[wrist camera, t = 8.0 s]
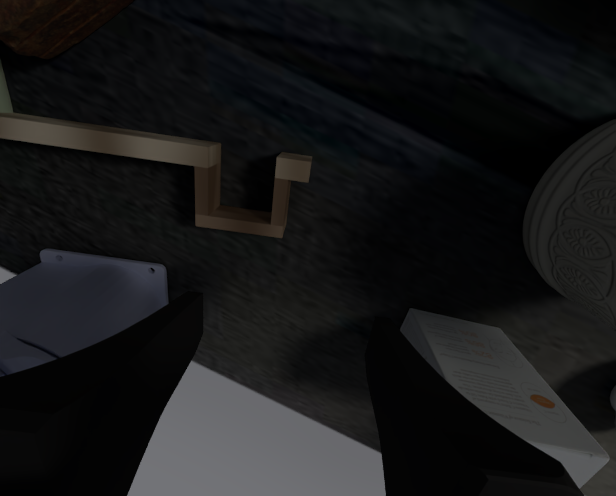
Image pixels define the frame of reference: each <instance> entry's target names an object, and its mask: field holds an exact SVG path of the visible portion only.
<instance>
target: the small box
mask: <svg viewBox="0 0 616 496" xmlns="http://www.w3.org/2000/svg"><path fill="white" fill-rule="evenodd" d="M400 331H401V332H402V334H403V335H404V336H405V337H406V338H407V340H408V341H409V342H410V343H411V344H412V345H413V347H414V348H415V349H416V350H417V351H418V352H419V353H420V354H421V356H422V357H423V358H424V359H425V360H426V361H427V362H428V363H429V364H430V365H431V366H432V367H433V368H434V369H435V370H436V371H437V372H438V373H439V374H440V375H441V376H442V377H443V378H444V379H445V380H446V381H447V382H448V383H449V384H450V385H452V386H453V387H454V388H455V389H456V390H457V391H458V392H459V393H461V394H462V395H463V396H464V397H465V398H467V399H468V400H469V401H470V402H472V403H473V404H474V405H475V406H477V407H478V408H479V409H481V410H482V411H483V412H484V413H486V414H487V415H488V416H490V417H491V418H493V419H494V420H495V421H497V422H498V423H500V424H501V425H502V426H504V427H505V428H507V429H508V430H510V431H511V432H513V433H514V434H516V435H517V436H519V437H520V438H522V439H523V440H525V441H527V442H528V443H530V444H532V445H533V446H535V447H537V448H538V449H540V450H542V451H543V452H545V453H546V454H548V455H550V456H551V457H553V458H555V459H556V460H558V461H560V462H561V463H562V465H563V466H564V467H565V469H566V470H567V472H568V473H569V475H570V476H571V478H572V479H573V481H574V482H575V483H576V485H577V486H578V488H581V487H582V486H583V485H584V484H585V483H586V482H587V481H588V480H589V479H590V478H591V477H592V476H593V475H594V474H596V473H597V472H598V471H599V470H600V469H601V468H602V467H603V466H604V465H605V464H606V463H607V462H608V461H609V459H610V458H609V455H608V454H607V453H606V452H605V450H604V449H603V448H602V447H601V446H600V445H599V443H598V442H597V441H596V440H595V439H594V438H593V436H592V435H591V434H590V433H589V432H588V431H587V429H586V428H585V427H584V426H583V425H582V424H581V422H580V421H579V420H578V419H577V418H576V417H575V415H574V414H573V413H572V412H571V411H570V410H569V408H568V407H567V406H566V405H565V404H564V403H563V401H562V400H561V399H560V398H559V397H558V395H557V394H556V393H555V392H554V391H553V390H552V388H551V387H550V386H549V385H548V384H547V383H546V382H545V380H544V379H543V378H542V377H541V376H540V375H539V373H538V372H537V371H536V370H535V369H534V368H533V366H532V365H531V364H530V363H529V362H528V361H527V360H526V358H525V357H524V356H523V355H522V354H521V352H520V351H519V350H518V349H517V348H516V347H515V346H514V344H513V343H512V342H511V341H510V340H509V339H508V337H507V336H506V335H505V334H504V333H503V331H502V330H501V329H500V328H498V327H493V326H488V325H484V324H479V323H475V322H471V321H466V320H462V319H457V318H453V317H449V316H444V315H440V314H435V313H431V312H426V311H422V310H417V309H413V308H410V309H409V311H408V313H407V315H406V318H405V320H404V322H403V324H402V326H401V328H400Z"/></svg>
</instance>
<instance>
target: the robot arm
mask: <svg viewBox="0 0 616 496" xmlns="http://www.w3.org/2000/svg"><path fill="white" fill-rule="evenodd" d="M60 256H61V257H62V258H61V257H60ZM40 258H41V263H39V264H38V265H36V266H34V267H32V268H30V269H28V270H26V271H24V272H23V273H21V274H19V275H17V276H15V277H13V278H11V279H9V280H8V281H6V282H4V283H2V284H0V496H127V494H128V492H129V489H130V487H131V484H132V482H133V479H134V477H135V474H136V472H137V469H138V467H139V465H140V462H141V460H142V458H143V455H144V453H145V450H146V448H147V446H148V443H149V441H150V439H151V437H152V434H153V432H154V430H155V427H156V425H157V423H158V421H159V418H160V416H161V414H162V412H163V410H164V408H165V406H166V405H167V403H168V401H169V399H170V397H171V395H172V394H173V392H174V390H175V388H176V387H177V385H178V383H179V381H180V380H181V378H182V376H183V374H184V373H185V371H186V369H187V367H188V365H189V363H190V362H191V360H192V358H193V356H194V354H195V352H196V350H197V347H198V345H199V342H200V340H201V337H202V335H203V293H197V292H190V291H188V292H186V293H184V294H183V295H181V296H180V297H178V298H176V299H175V300H173V301H172V302H170V303H169V302H168V286H167V271H166V268H165V266H163V265H162V264H157V263H150V262H143V261H135V260H128V259H121V258H114V257H106V256H99V255H92V254H84V253H77V252H70V251H63V250H55V249H44V250H42V251H41V252H40ZM151 268H153V269H154V270H155V271H152V270H151ZM365 361H366V373H367V380H368V385H369V390H370V395H371V400H372V404H373V409H374V414H375V418H376V423H377V428H378V432H379V438H380V444H381V453H382V461H383V470H384V480H385V490H386V496H584V495H583V494H582V492H581V491H580V489H579V488H578V486H577V485H576V483H575V482H574V481H573V479H572V478H571V476H570V475H569V473H568V472H567V470H566V469H565V467H564V466H563V465H562V463H561V462H560V461H558V460H556V459H555V458H553V457H551V456H550V455H548V454H546V453H545V452H543V451H542V450H540V449H538V448H537V447H535V446H533V445H532V444H530V443H528V442H527V441H525V440H523V439H522V438H520V437H519V436H517V435H516V434H514V433H513V432H511V431H510V430H508V429H507V428H505V427H504V426H502V425H501V424H500V423H498V422H497V421H495V420H494V419H493V418H491V417H490V416H488V415H487V414H486V413H484V412H483V411H482V410H481V409H479V408H478V407H477V406H475V405H474V404H473V403H472V402H470V401H469V400H468V399H467V398H465V397H464V396H463V395H462V394H461V393H459V392H458V391H457V390H456V389H455V388H454V387H453V386H452V385H450V384H449V383H448V382H447V381H446V380H445V379H444V378H443V377H442V376H441V375H440V374H439V373H438V372H437V371H436V370H435V369H434V368H433V367H432V366H431V365H430V364H429V363H428V362H427V361H426V360H425V359H424V358H423V357H422V356H421V354H420V353H419V352H418V351H417V350H416V349H415V348H414V347H413V345H412V344H411V343H410V342H409V341H408V340H407V338H406V337H405V336H404V335H403V334H402V332H401V331H400V330H399V329H398V328H397V326H396V325H395V324H394V323H393V322H392V320H391V319H389V318H381V317H375V320H374V324H373V327H372V331H371V334H370V338H369V342H368V345H367V349H366V352H365Z"/></svg>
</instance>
